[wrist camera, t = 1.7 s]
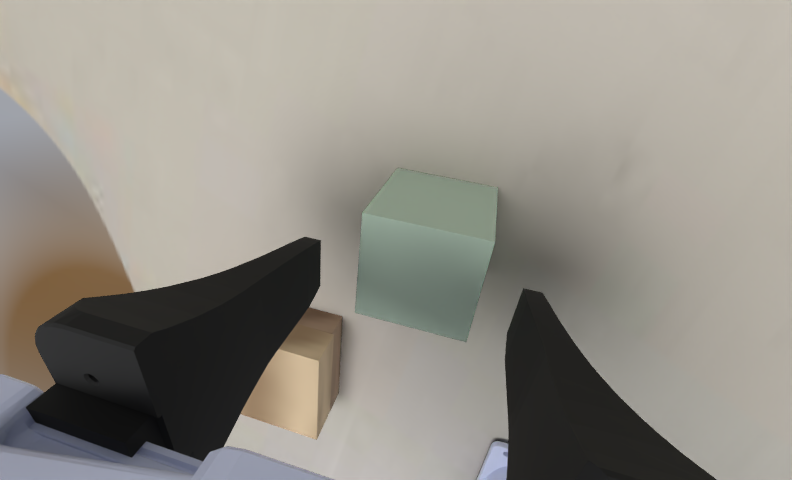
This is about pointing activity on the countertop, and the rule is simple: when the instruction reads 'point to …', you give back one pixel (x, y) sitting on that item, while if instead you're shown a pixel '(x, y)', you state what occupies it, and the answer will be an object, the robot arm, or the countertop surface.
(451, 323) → the sage block
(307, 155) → the countertop surface
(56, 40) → the countertop surface
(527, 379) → the robot arm
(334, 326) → the tower base
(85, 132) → the countertop surface
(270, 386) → the tower top
